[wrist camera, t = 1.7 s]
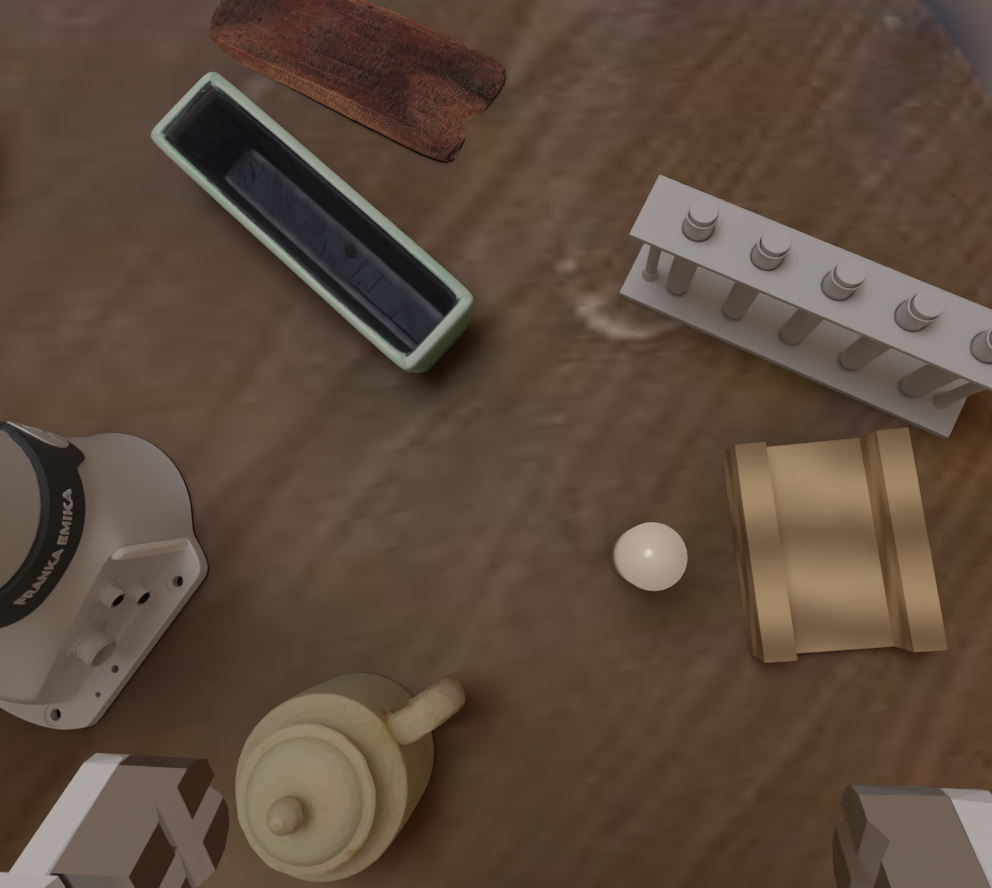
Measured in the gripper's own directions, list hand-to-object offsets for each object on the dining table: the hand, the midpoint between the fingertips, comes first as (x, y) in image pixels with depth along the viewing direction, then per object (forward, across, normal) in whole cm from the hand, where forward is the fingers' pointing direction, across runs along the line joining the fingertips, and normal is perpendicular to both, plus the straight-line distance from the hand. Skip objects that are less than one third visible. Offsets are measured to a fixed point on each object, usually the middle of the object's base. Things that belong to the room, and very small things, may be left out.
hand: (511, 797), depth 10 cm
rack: (+38, +16, -25) cm, 48 cm away
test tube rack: (+47, +15, -13) cm, 51 cm away
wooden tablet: (+63, -19, +7) cm, 66 cm away
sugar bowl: (+29, -15, -35) cm, 48 cm away
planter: (+52, -19, -6) cm, 56 cm away
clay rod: (+37, +4, -25) cm, 45 cm away
